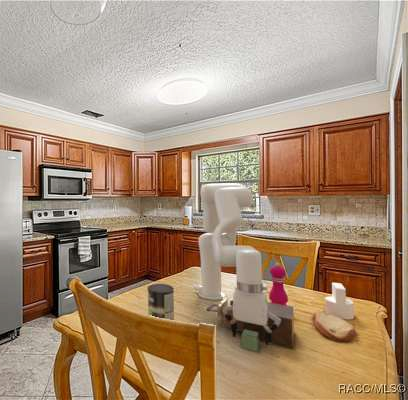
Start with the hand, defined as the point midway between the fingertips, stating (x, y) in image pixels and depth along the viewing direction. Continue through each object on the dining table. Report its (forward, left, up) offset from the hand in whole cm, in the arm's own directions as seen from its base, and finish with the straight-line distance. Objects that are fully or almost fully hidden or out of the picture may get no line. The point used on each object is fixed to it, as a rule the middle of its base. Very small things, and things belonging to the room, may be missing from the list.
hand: (250, 339), depth 90 cm
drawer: (-8, +12, -2) cm, 15 cm away
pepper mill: (+5, +42, -3) cm, 43 cm away
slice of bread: (+22, +30, -3) cm, 37 cm away
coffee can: (-32, 0, -3) cm, 32 cm away
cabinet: (+4, +12, -3) cm, 13 cm away
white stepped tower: (+26, +47, -3) cm, 54 cm away
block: (0, 0, -3) cm, 3 cm away
